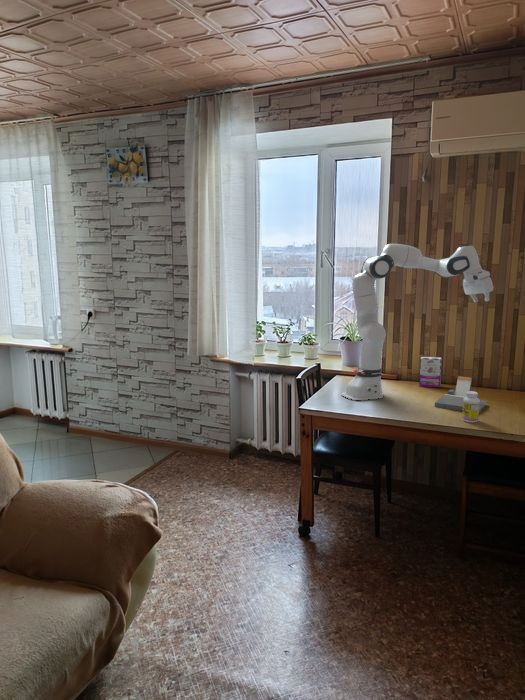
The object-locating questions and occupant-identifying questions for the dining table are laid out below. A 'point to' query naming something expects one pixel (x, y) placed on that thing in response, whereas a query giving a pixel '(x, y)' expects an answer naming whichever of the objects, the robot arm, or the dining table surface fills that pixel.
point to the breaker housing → (454, 402)
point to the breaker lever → (463, 386)
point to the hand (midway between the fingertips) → (481, 301)
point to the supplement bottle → (470, 407)
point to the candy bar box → (430, 371)
